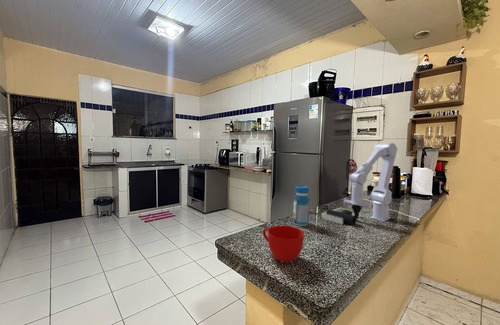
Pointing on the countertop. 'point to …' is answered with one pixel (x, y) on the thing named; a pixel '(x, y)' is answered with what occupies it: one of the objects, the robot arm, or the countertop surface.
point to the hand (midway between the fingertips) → (356, 218)
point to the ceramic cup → (284, 242)
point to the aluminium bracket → (336, 218)
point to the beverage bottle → (301, 206)
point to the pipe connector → (344, 216)
